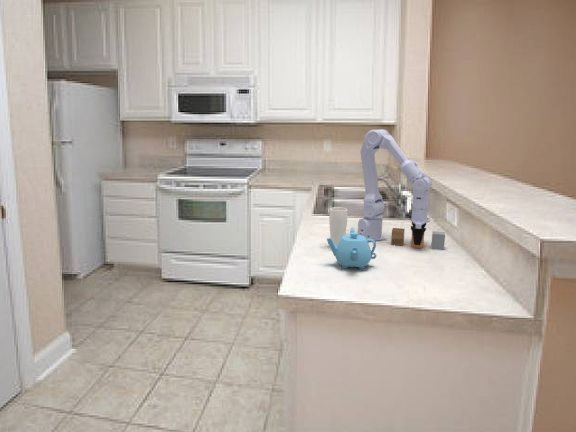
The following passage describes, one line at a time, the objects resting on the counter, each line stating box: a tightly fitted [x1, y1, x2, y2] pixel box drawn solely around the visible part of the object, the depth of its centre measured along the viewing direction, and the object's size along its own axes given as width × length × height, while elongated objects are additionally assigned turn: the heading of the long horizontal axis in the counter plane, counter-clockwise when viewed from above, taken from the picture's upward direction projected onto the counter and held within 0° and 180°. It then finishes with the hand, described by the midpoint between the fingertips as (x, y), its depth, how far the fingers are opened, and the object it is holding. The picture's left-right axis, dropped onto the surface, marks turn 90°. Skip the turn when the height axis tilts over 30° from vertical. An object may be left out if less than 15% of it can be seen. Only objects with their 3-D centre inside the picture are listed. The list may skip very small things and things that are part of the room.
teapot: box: [326, 226, 377, 271], centre depth 145 cm, size 15×14×11 cm
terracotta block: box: [410, 232, 425, 249], centre depth 169 cm, size 4×4×6 cm
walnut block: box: [390, 227, 405, 247], centre depth 171 cm, size 4×4×6 cm
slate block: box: [430, 230, 446, 251], centre depth 167 cm, size 4×4×6 cm
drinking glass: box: [328, 206, 349, 246], centre depth 165 cm, size 7×7×15 cm
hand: (417, 242), depth 169 cm, fingers open, 6 cm apart
